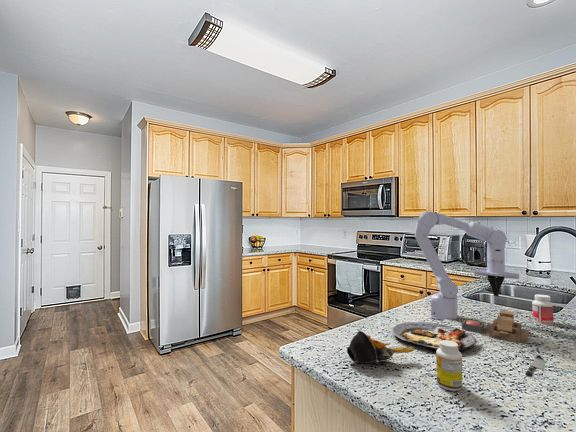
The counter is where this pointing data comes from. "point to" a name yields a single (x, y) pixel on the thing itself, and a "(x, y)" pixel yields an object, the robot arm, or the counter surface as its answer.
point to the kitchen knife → (536, 365)
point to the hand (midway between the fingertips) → (496, 295)
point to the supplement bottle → (449, 366)
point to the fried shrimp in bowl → (372, 349)
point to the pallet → (517, 336)
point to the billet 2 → (505, 324)
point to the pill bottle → (542, 310)
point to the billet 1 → (507, 314)
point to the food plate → (432, 334)
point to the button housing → (473, 327)
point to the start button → (473, 322)
